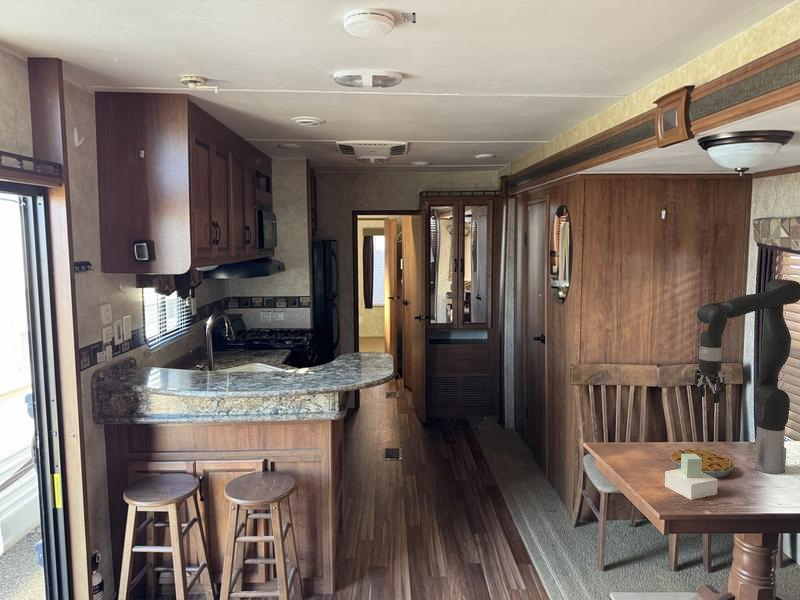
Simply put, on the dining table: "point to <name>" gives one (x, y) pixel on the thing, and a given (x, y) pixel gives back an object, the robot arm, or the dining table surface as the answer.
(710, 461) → the pie
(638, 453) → the dining table surface
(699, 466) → the sage block
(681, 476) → the base box
